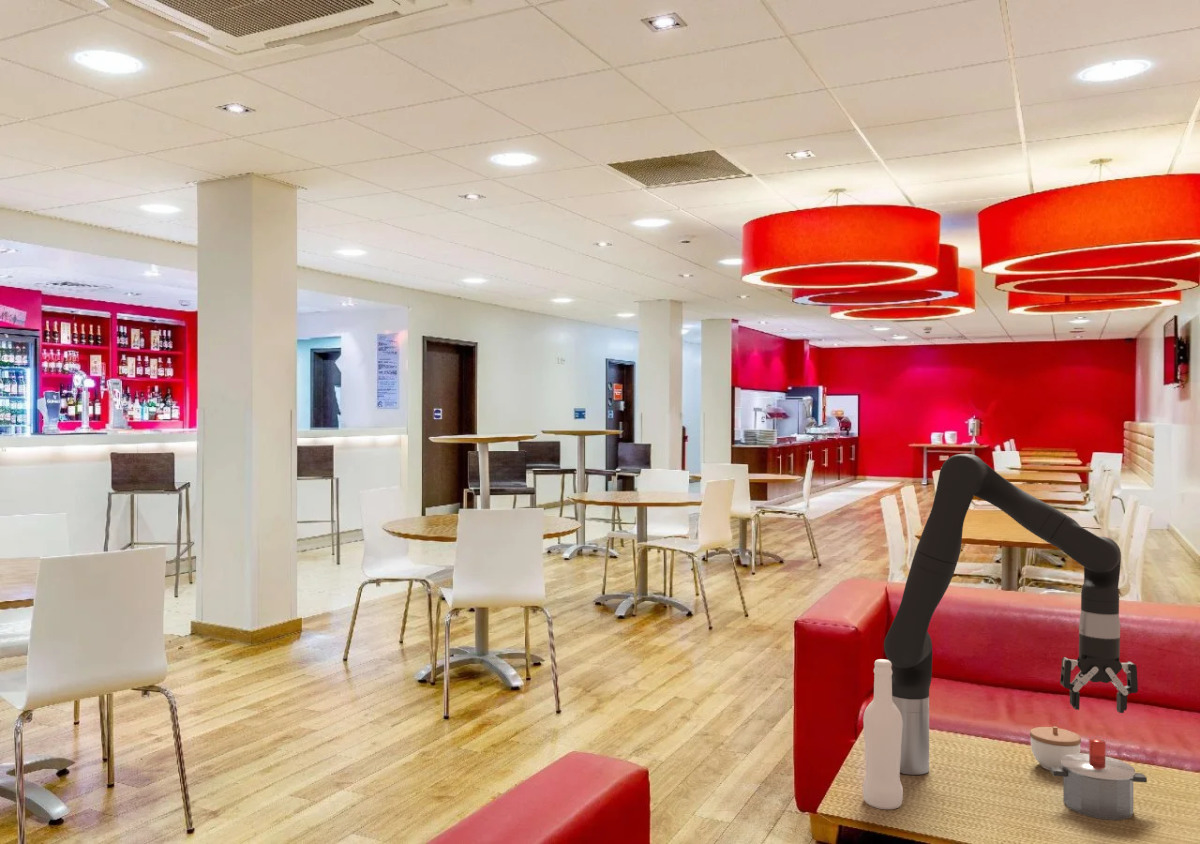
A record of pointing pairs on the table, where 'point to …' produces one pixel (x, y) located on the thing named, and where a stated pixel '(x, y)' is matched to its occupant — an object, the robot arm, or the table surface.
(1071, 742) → the lidded jar
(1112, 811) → the pot
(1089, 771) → the lid
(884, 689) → the bottle
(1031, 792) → the table surface
